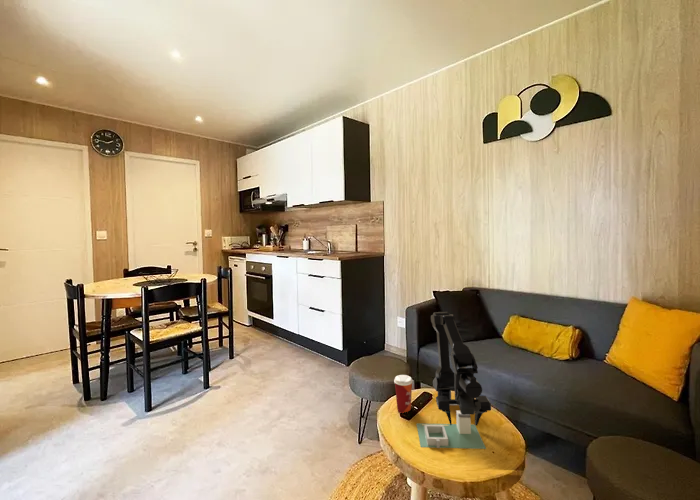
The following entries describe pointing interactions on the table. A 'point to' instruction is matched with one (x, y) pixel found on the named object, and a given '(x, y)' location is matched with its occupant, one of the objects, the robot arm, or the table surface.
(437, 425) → the board
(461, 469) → the table surface
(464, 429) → the plug
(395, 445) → the table surface
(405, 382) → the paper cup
